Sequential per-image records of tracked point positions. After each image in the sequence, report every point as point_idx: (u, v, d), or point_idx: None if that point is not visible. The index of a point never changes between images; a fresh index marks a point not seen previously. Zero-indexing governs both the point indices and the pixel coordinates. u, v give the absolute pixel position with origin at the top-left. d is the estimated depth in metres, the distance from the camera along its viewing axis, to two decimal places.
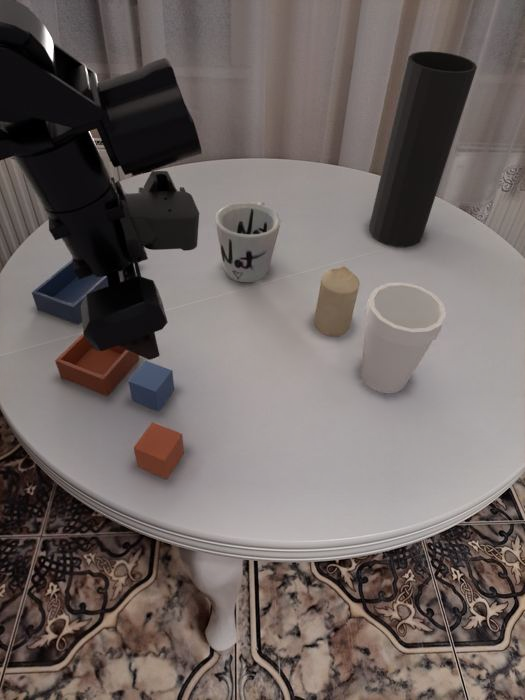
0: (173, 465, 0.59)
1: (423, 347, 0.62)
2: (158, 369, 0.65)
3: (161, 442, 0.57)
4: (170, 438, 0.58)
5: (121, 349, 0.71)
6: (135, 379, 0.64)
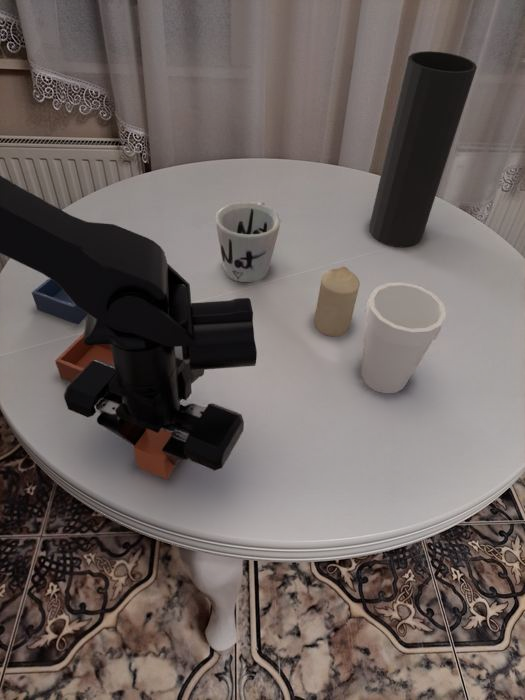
0: (173, 465, 0.59)
1: (423, 347, 0.62)
2: None
3: (161, 442, 0.57)
4: None
5: None
6: None
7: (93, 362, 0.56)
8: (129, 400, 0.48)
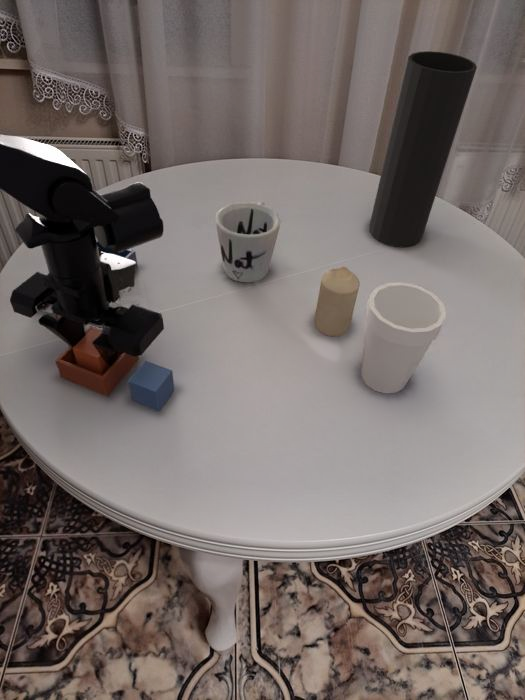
0: (109, 366, 0.68)
1: (423, 347, 0.62)
2: (158, 369, 0.65)
3: None
4: None
5: None
6: (135, 379, 0.64)
7: (37, 273, 0.65)
8: (60, 293, 0.57)
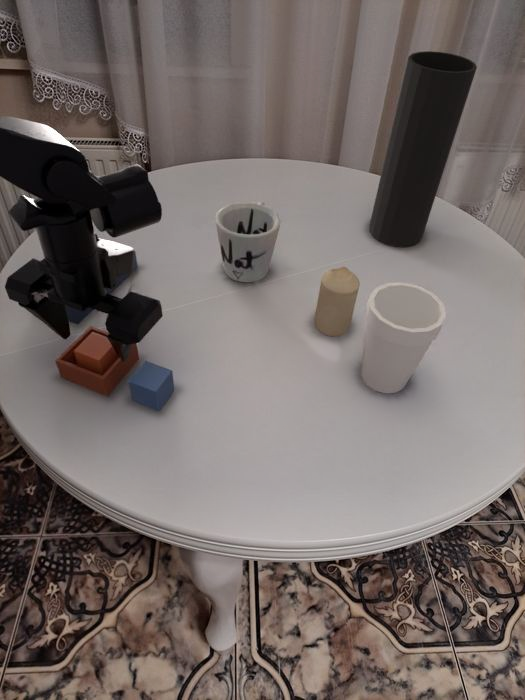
0: None
1: (423, 347, 0.62)
2: (158, 369, 0.65)
3: (98, 347, 0.67)
4: (106, 344, 0.67)
5: None
6: (135, 379, 0.64)
7: (32, 259, 0.63)
8: (55, 279, 0.56)
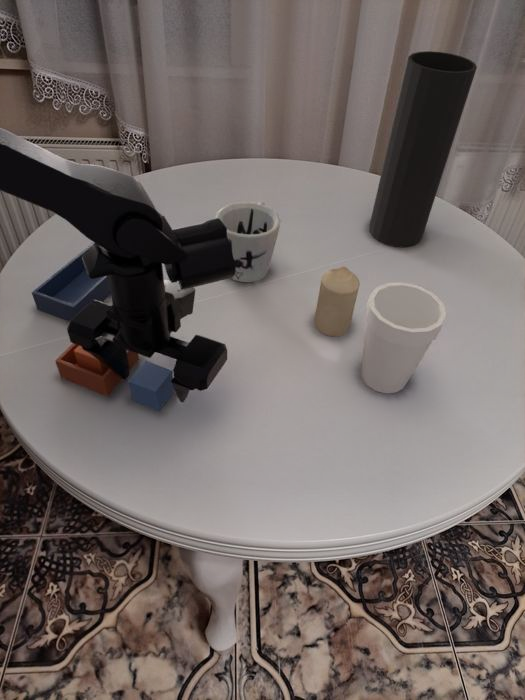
0: None
1: (423, 347, 0.62)
2: (158, 369, 0.65)
3: None
4: None
5: None
6: (135, 379, 0.64)
7: (93, 301, 0.62)
8: (124, 326, 0.55)
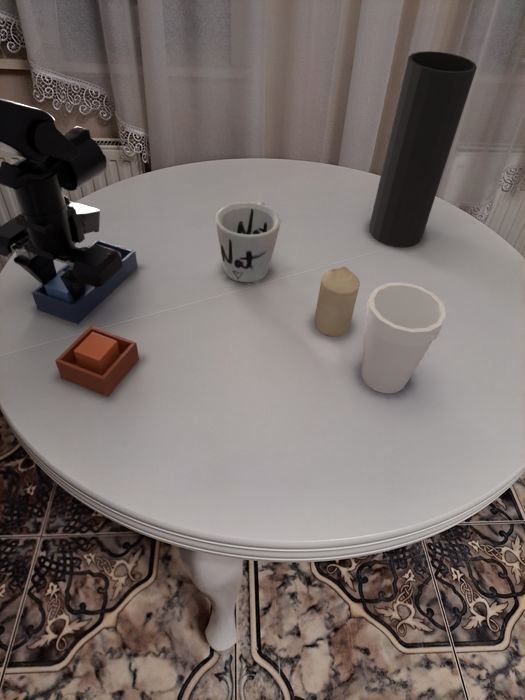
0: None
1: (423, 347, 0.62)
2: None
3: (98, 347, 0.67)
4: (106, 344, 0.67)
5: (121, 349, 0.71)
6: (50, 284, 0.75)
7: (12, 219, 0.74)
8: (30, 231, 0.66)
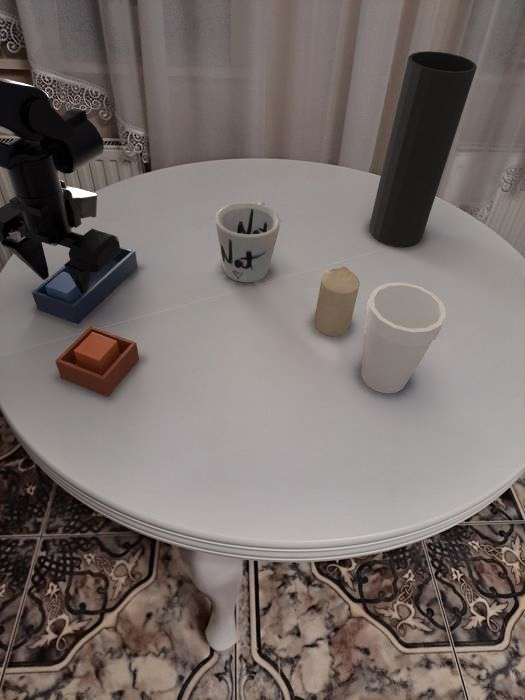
0: None
1: (423, 347, 0.62)
2: None
3: (98, 347, 0.67)
4: (106, 344, 0.67)
5: (121, 349, 0.71)
6: (51, 284, 0.75)
7: (7, 204, 0.72)
8: (25, 214, 0.65)
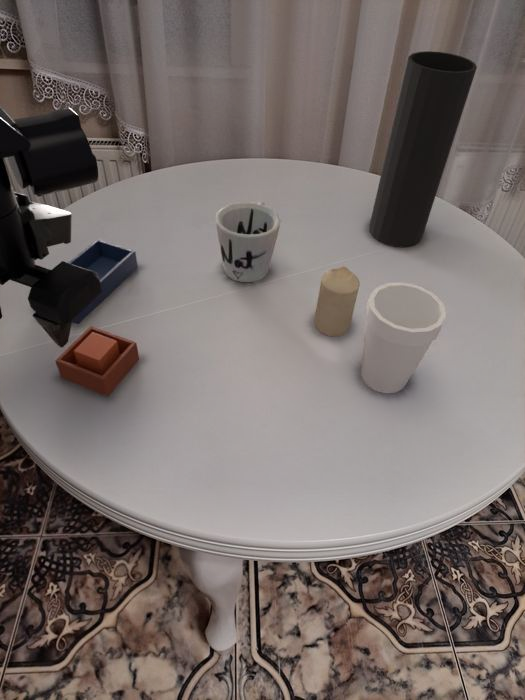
0: None
1: (423, 347, 0.62)
2: None
3: (98, 347, 0.67)
4: (106, 344, 0.67)
5: (121, 349, 0.71)
6: None
7: None
8: None
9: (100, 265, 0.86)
